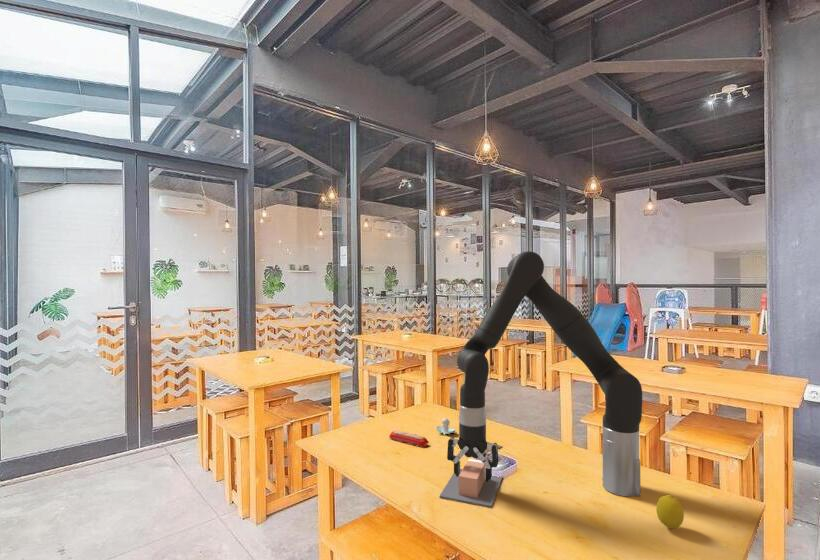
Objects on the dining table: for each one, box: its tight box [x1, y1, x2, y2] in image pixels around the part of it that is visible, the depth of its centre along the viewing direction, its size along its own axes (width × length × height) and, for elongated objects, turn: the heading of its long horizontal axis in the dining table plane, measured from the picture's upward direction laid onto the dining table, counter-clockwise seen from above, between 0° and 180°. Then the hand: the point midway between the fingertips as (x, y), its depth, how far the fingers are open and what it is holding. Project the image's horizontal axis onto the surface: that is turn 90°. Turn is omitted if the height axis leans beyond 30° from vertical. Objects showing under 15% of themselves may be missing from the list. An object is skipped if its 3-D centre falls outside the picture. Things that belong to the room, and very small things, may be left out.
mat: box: [438, 468, 503, 508], centre depth 121 cm, size 14×18×1 cm
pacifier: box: [436, 417, 456, 434], centre depth 163 cm, size 7×6×6 cm
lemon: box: [655, 494, 685, 530], centre depth 101 cm, size 6×6×8 cm
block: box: [459, 458, 486, 498], centre depth 121 cm, size 5×5×12 cm
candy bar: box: [388, 430, 430, 448], centre depth 154 cm, size 16×4×3 cm, turn 56°
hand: (472, 477), depth 121 cm, fingers open, 8 cm apart
